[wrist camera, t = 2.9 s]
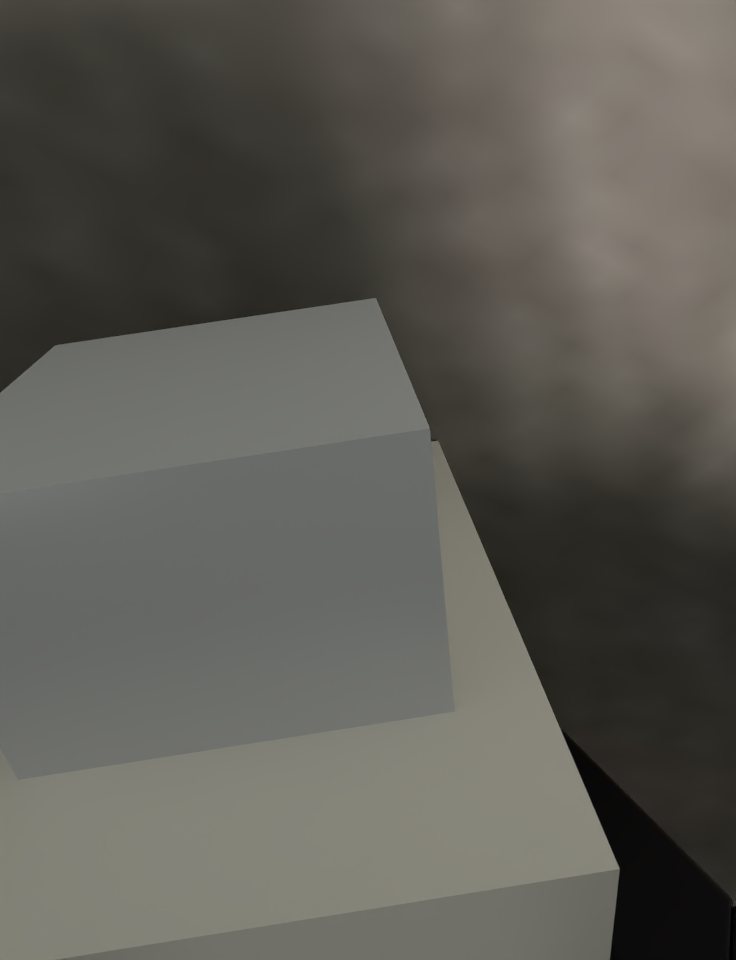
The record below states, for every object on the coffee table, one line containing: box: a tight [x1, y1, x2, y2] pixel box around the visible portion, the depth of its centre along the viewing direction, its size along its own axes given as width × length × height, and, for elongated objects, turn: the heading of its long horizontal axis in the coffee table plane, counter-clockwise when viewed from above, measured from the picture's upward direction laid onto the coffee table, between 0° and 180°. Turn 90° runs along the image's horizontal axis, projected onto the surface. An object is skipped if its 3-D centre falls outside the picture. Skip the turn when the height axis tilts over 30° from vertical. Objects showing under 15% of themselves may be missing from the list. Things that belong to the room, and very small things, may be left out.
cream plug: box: [0, 298, 620, 960], centre depth 7 cm, size 10×4×5 cm, turn 7°
